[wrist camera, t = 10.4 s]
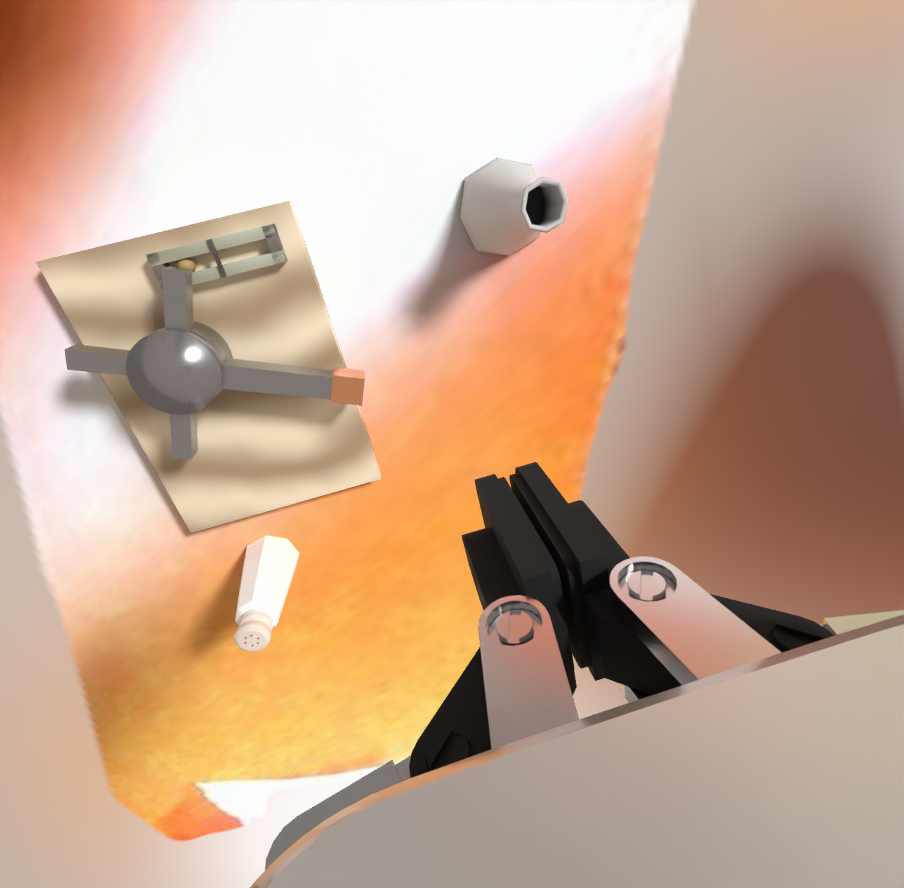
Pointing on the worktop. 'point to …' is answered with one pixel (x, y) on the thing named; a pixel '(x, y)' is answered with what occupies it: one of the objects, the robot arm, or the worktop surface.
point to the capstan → (202, 368)
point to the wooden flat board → (249, 338)
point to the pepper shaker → (263, 590)
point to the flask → (510, 206)
